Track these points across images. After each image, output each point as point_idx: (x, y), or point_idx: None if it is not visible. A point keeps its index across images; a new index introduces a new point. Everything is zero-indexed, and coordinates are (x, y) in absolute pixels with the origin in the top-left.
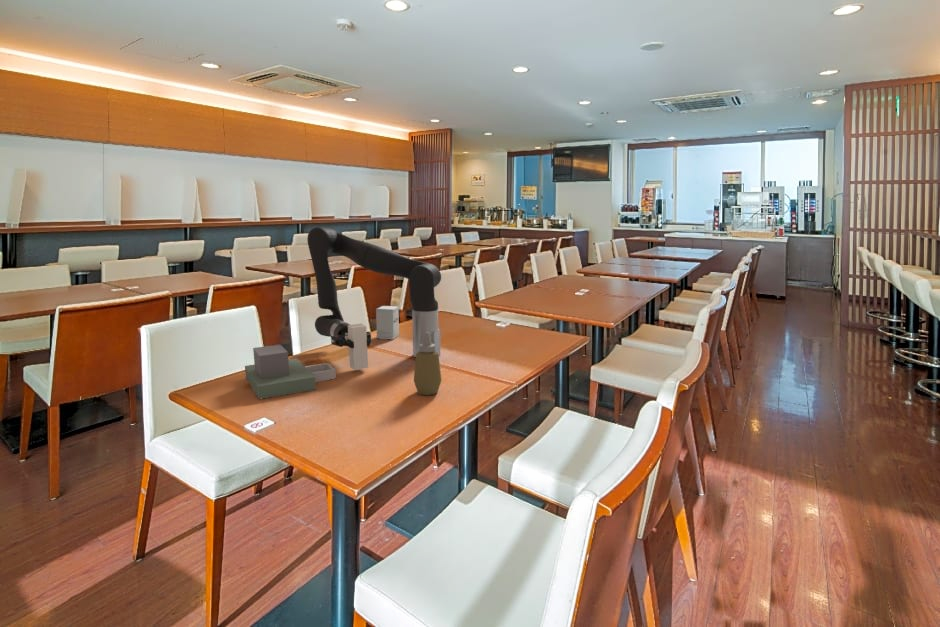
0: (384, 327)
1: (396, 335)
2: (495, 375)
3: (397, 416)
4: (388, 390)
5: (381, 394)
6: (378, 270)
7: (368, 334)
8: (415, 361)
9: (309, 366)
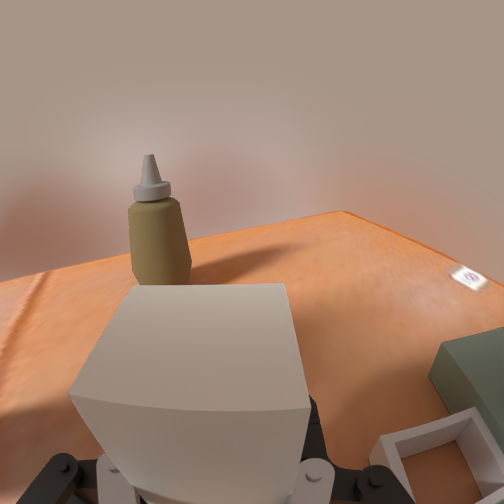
0: None
1: None
2: (19, 296)
3: (269, 253)
4: None
5: None
6: None
7: (48, 491)
8: (177, 224)
9: (494, 492)
